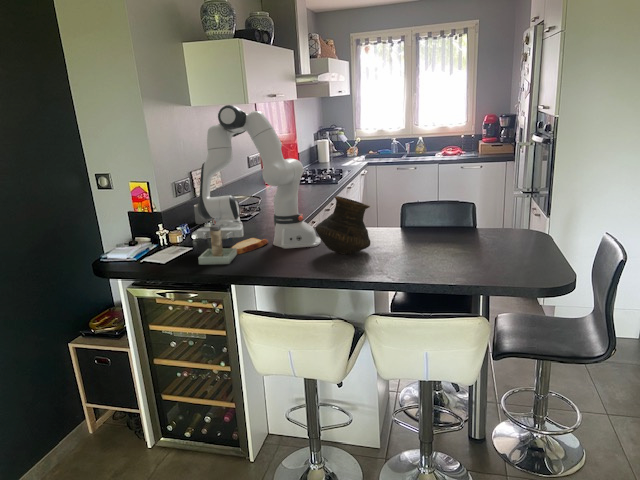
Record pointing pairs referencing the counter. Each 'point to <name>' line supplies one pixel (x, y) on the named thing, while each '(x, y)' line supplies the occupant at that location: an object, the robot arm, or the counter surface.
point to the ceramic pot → (345, 227)
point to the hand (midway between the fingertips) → (215, 236)
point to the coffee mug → (197, 217)
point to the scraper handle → (216, 241)
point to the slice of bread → (249, 245)
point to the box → (226, 259)
